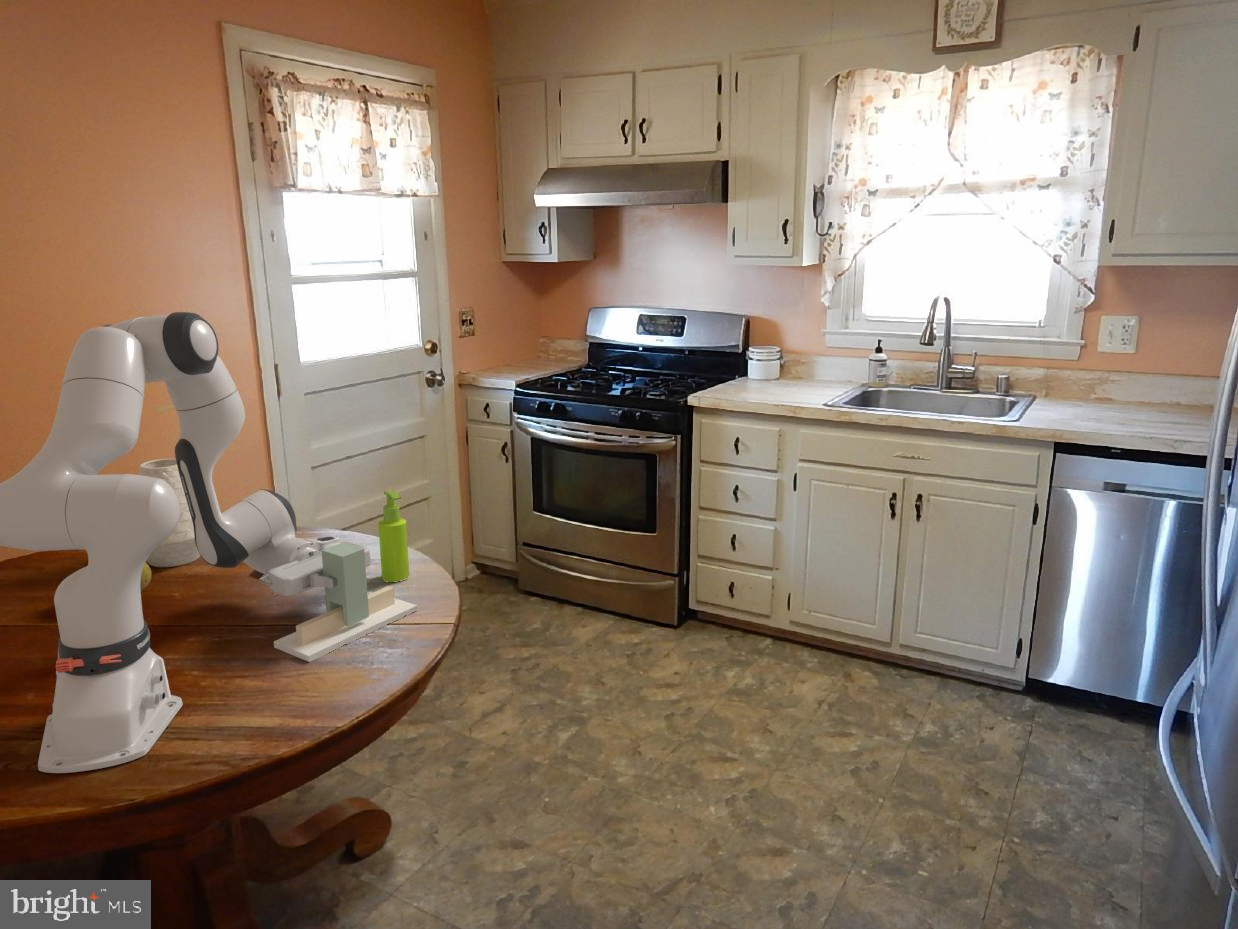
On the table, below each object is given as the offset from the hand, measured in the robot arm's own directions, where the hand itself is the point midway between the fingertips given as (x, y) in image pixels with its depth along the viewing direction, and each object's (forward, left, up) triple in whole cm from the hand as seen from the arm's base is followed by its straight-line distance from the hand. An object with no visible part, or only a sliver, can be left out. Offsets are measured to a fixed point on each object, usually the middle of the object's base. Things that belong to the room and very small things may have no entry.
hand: (348, 577), depth 161 cm
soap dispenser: (+24, -9, -11) cm, 28 cm away
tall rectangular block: (+1, +1, -8) cm, 9 cm away
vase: (+50, +40, -11) cm, 64 cm away
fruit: (+27, +46, -11) cm, 54 cm away
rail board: (+1, +1, -11) cm, 11 cm away
